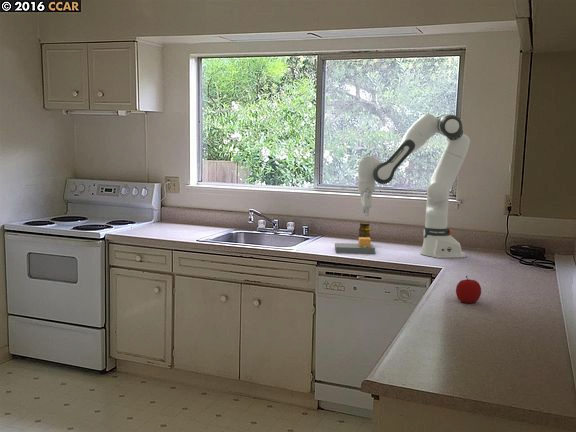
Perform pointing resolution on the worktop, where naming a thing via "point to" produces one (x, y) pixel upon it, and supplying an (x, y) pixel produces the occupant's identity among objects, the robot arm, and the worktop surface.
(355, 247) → the grey flat slab
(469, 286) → the apple
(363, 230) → the condiment
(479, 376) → the worktop surface
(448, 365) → the worktop surface
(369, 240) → the lockout cap
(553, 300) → the worktop surface
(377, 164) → the robot arm
